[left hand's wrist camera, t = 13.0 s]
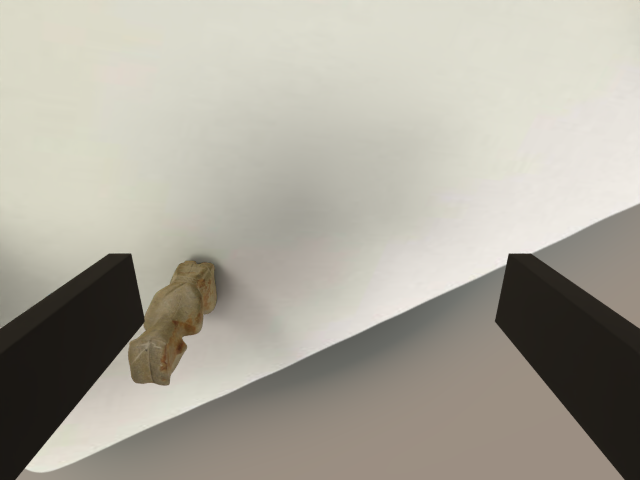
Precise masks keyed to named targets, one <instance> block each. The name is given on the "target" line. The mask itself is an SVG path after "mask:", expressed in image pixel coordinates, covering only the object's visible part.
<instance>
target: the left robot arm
mask: <svg viewBox="0 0 640 480" xmlns="http://www.w3.org/2000/svg"><path fill="white" fill-rule="evenodd" d="M144 322H145V319H144V314H143V309H142V304H141V299H140V294H139V289H138V285H137V280H136V275H135V270H134V265H133V260H132V255H131V254H108V255H107V256H105V257H104V258H102V259H101V260H99V261H98V262H96V263H95V264H93V265H92V266H91V267H89V268H88V269H86V270H85V271H83V272H82V273H80V274H79V275H78V276H76V277H75V278H73V279H72V280H70V281H69V282H67V283H66V284H64V285H63V286H62V287H60V288H59V289H57V290H56V291H54V292H53V293H51V294H50V295H49V296H47V297H46V298H44V299H43V300H41V301H40V302H38V303H37V304H36V305H34V306H33V307H31V308H30V309H28V310H27V311H25V312H24V313H22V314H21V315H20V316H18V317H17V318H15V319H14V320H12V321H11V322H9V323H8V324H7V325H5V326H4V327H2V328H1V329H0V480H15V479H16V478H17V477H18V476H19V475H20V473H21V472H22V471H23V470H24V468H25V467H26V466H27V465H28V464H29V462H30V461H31V460H32V459H33V457H34V456H35V455H36V454H37V453H38V451H39V450H40V449H41V448H42V447H43V445H44V444H45V443H46V442H47V440H48V439H49V438H50V437H51V436H52V434H53V433H54V432H55V431H56V429H57V428H58V427H59V426H60V425H61V423H62V422H63V421H64V420H65V418H66V417H67V416H68V415H69V414H70V412H71V411H72V410H73V409H74V407H75V406H76V405H77V404H78V403H79V401H80V400H81V399H82V398H83V397H84V395H85V394H86V393H87V392H88V390H89V389H90V388H91V387H92V386H93V384H94V383H95V382H96V381H97V379H98V378H99V377H100V376H101V375H102V373H103V372H104V371H105V370H106V368H107V367H108V366H109V365H110V364H111V362H112V361H113V360H114V359H115V357H116V356H117V355H118V354H119V353H120V351H121V350H122V349H123V348H124V347H125V345H126V344H127V343H128V342H129V340H130V339H131V338H132V337H133V336H134V334H135V333H136V332H137V331H138V329H139V328H140V327H141V326H142V325H143V323H144ZM495 322H496V323H497V325H498V326H499V327H500V328H501V329H502V331H503V332H504V333H505V334H506V336H507V337H508V338H509V339H510V340H511V342H512V343H513V344H514V345H515V347H516V348H517V349H518V350H519V351H520V353H521V354H522V355H523V356H524V357H525V359H526V360H527V361H528V362H529V364H530V365H531V366H532V367H533V368H534V370H535V371H536V372H537V373H538V375H539V376H540V377H541V378H542V379H543V381H544V382H545V383H546V384H547V386H548V387H549V388H550V389H551V390H552V392H553V393H554V394H555V395H556V397H557V398H558V399H559V400H560V401H561V403H562V404H563V405H564V406H565V407H566V409H567V410H568V411H569V412H570V414H571V415H572V416H573V417H574V418H575V420H576V421H577V422H578V423H579V425H580V426H581V427H582V428H583V429H584V431H585V432H586V433H587V434H588V436H589V437H590V438H591V439H592V440H593V441H594V443H595V444H596V445H597V447H598V448H599V449H600V450H601V451H602V453H603V454H604V455H605V456H606V457H607V459H608V460H609V461H610V462H611V464H612V465H613V466H614V467H615V468H616V470H617V471H618V472H619V473H620V475H621V476H622V477H623V478H624V479H625V480H640V329H639V328H638V327H636V326H635V325H633V324H632V323H631V322H629V321H628V320H626V319H625V318H623V317H622V316H620V315H619V314H618V313H616V312H615V311H613V310H612V309H610V308H609V307H607V306H606V305H604V304H603V303H602V302H600V301H599V300H597V299H596V298H594V297H593V296H591V295H590V294H588V293H587V292H586V291H584V290H583V289H581V288H580V287H578V286H577V285H576V284H574V283H573V282H571V281H570V280H568V279H567V278H565V277H564V276H562V275H561V274H560V273H558V272H557V271H555V270H554V269H552V268H551V267H549V266H548V265H547V264H545V263H544V262H542V261H541V260H539V259H538V258H536V257H535V256H533V255H532V254H509V255H508V260H507V265H506V270H505V275H504V280H503V284H502V289H501V294H500V299H499V304H498V309H497V314H496V319H495Z"/></svg>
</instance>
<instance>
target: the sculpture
mask: <svg viewBox="0 0 640 480" xmlns="http://www.w3.org/2000/svg"><path fill="white" fill-rule="evenodd" d="M214 270H215V268H214V265H213V264H212V263H207V262H203V263H201V264H197V263H196V262H195V261H185V262H184V263H181V264H179V266H178V267H177V269H176V271H175V273H174V275H173V277H172V279H171V282H170V285H168V286H166V287H165V288H163V289H161V290H159V291H158V292H157V293H156V294H155V296H154V297H153V299H152V301H151V304H150V306H149V308H148V310H147V312H146V314H145V317H144V319H145V322H144V323H143V324H144V328H145V330H146V331H145V332H144V333H143V334H142V335H141V336H140V337H138V338H137V339H135V340H133V341H131V342H130V343H129V345H130V346H129V351H128V359H129V364H130V370H131V377H132V379H133V381H134V382H135V383H141V384H145V383H155V384H158V385H169V384H170V376H171V374H172V372H173V371H174V370H175V368H176V366H177V365H178V363H179V361H180V359H181V357H182V355H183V353H184V352H185V351H186V349H187V345H186V344H185V343H184V341H183V340H182V337H183V336H188V335H194V334H197V333H199V332H200V330H201V328H202V324H203V314H208V313H210V312H212V311H213V309H214V308H215V305H216V301H217V294H216V285H215V280H214Z"/></svg>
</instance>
